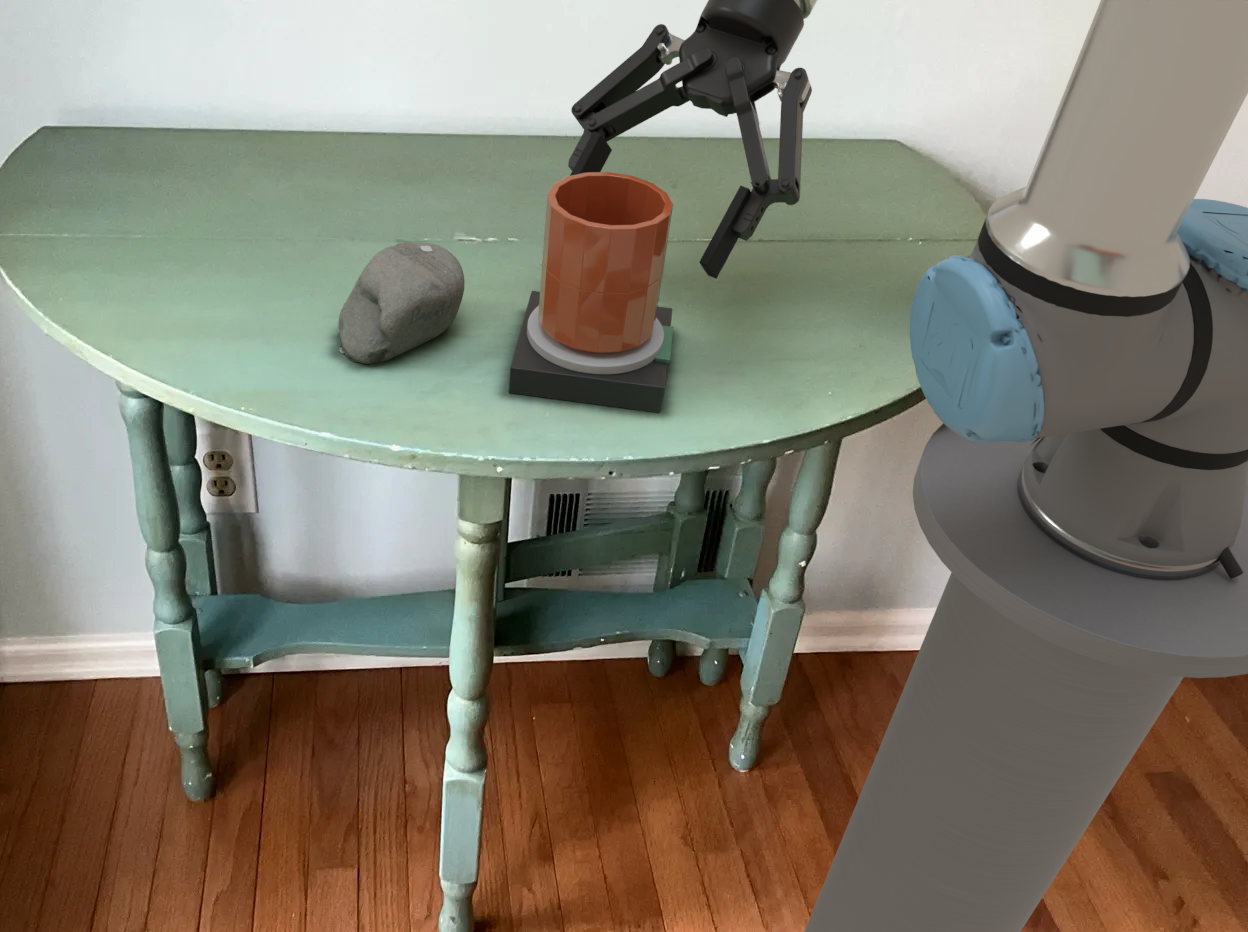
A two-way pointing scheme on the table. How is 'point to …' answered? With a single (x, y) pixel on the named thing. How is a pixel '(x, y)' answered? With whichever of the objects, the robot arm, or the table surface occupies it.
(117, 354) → the table surface
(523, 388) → the scale
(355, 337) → the stone
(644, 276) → the terracotta flower pot
